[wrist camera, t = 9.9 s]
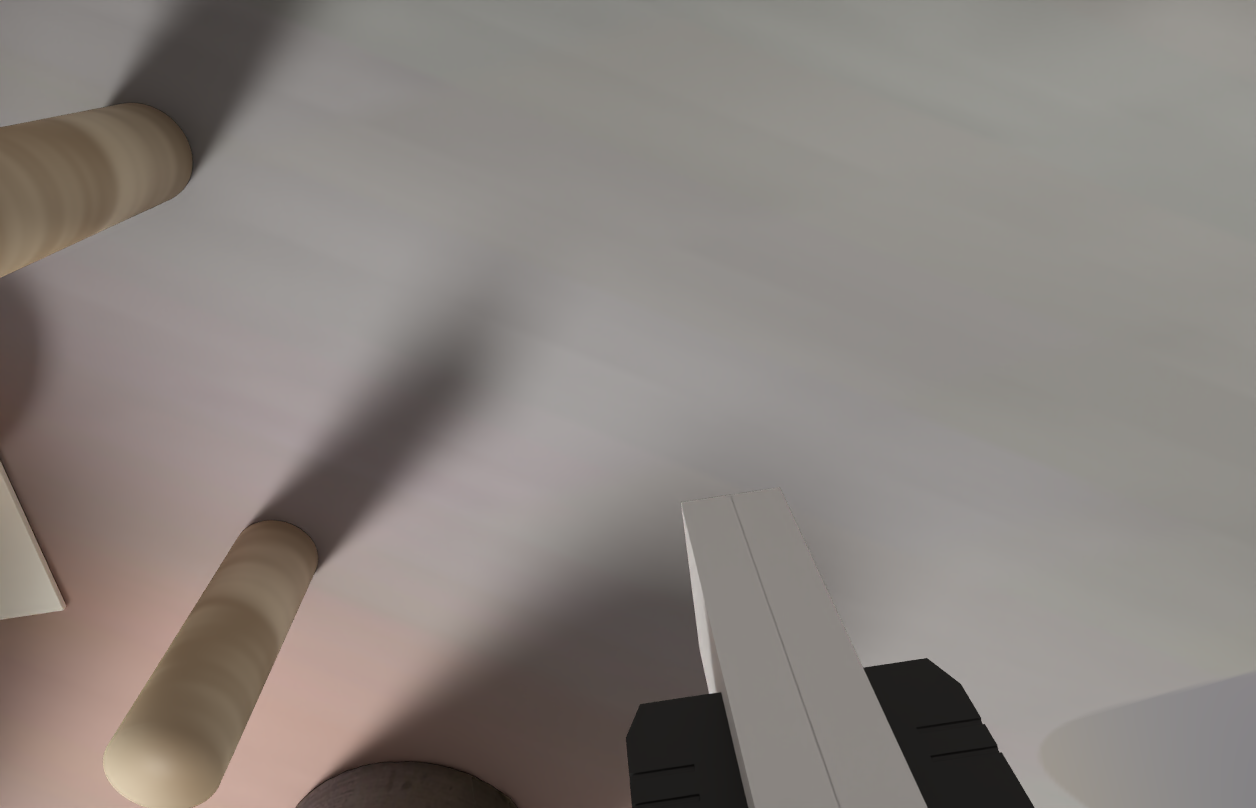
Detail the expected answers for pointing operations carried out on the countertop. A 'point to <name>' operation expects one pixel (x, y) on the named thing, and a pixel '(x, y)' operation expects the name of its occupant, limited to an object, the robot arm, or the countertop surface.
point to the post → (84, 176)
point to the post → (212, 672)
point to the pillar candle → (405, 789)
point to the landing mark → (22, 563)
